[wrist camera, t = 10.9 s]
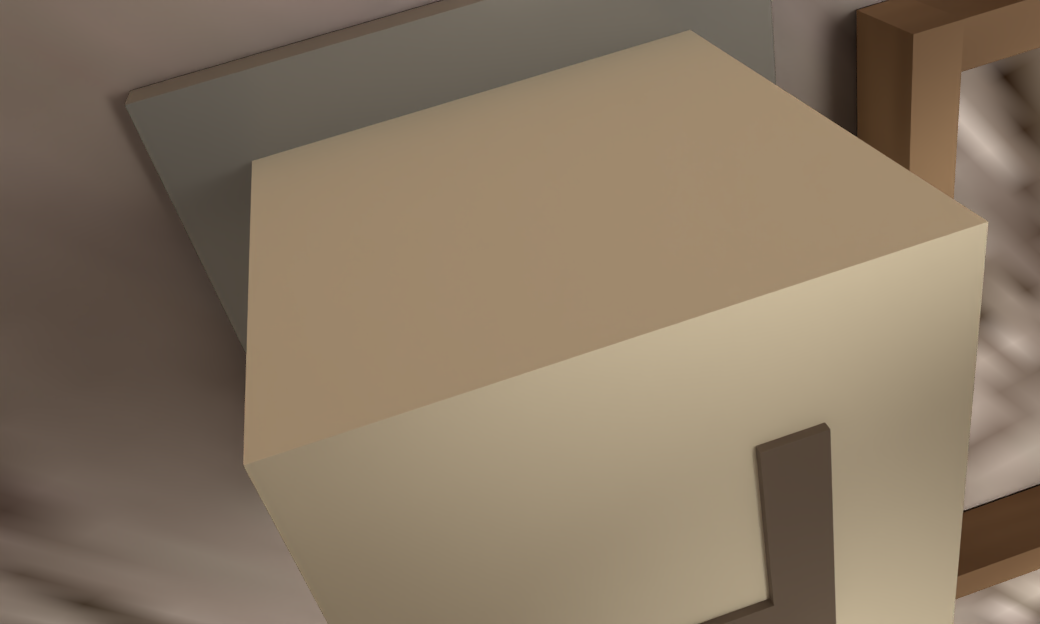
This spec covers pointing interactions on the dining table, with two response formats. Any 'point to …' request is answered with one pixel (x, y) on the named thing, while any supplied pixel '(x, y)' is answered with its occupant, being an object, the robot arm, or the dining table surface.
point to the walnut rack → (946, 184)
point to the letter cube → (613, 358)
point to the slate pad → (384, 93)
